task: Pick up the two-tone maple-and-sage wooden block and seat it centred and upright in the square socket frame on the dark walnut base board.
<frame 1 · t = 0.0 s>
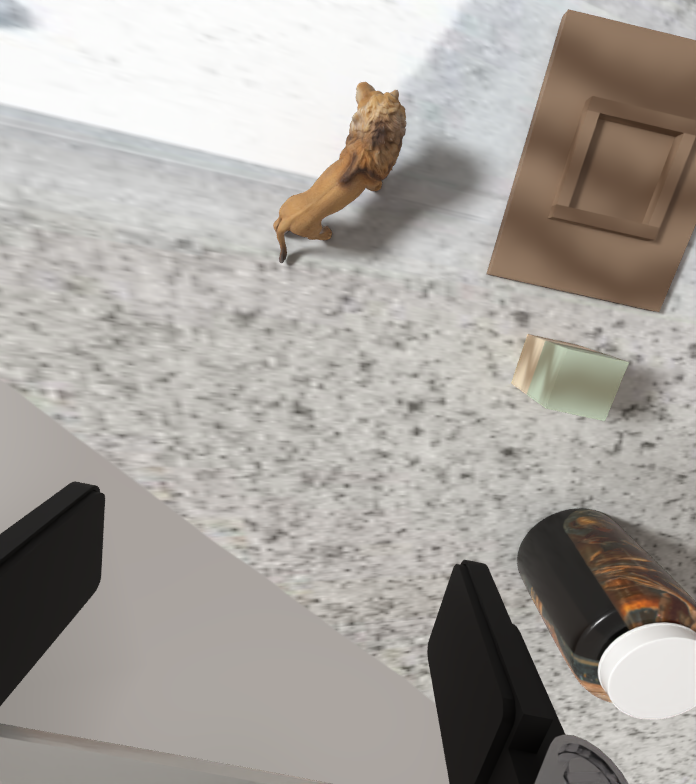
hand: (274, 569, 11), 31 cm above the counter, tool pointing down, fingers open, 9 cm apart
lion figurine: (335, 192, 37), on the counter
jar: (568, 552, 47), on the counter
walnut socket board: (610, 176, 36), on the counter
two-tone block: (543, 364, 41), on the counter
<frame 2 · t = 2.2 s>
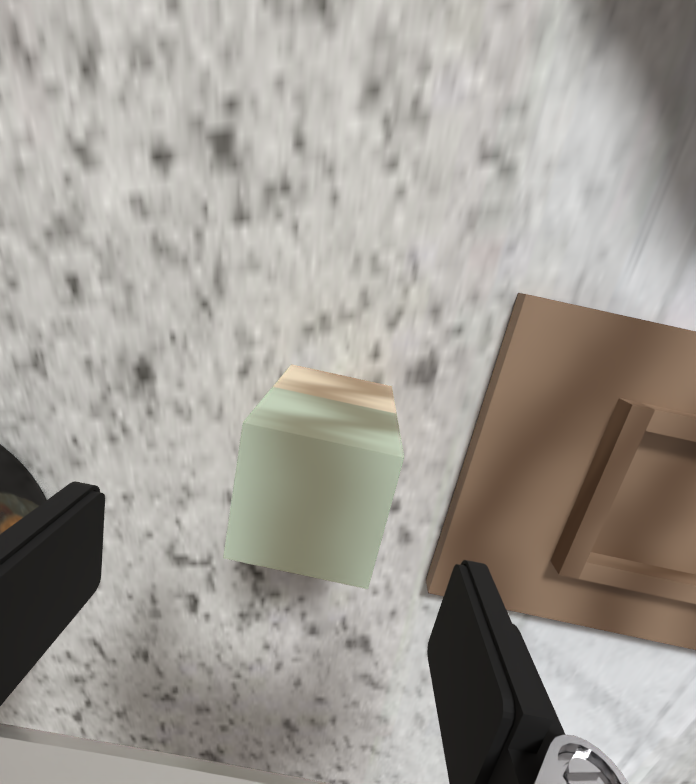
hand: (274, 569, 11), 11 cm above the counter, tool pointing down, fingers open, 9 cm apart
walnut socket board: (659, 493, 21), on the counter
two-tone block: (331, 422, 21), on the counter
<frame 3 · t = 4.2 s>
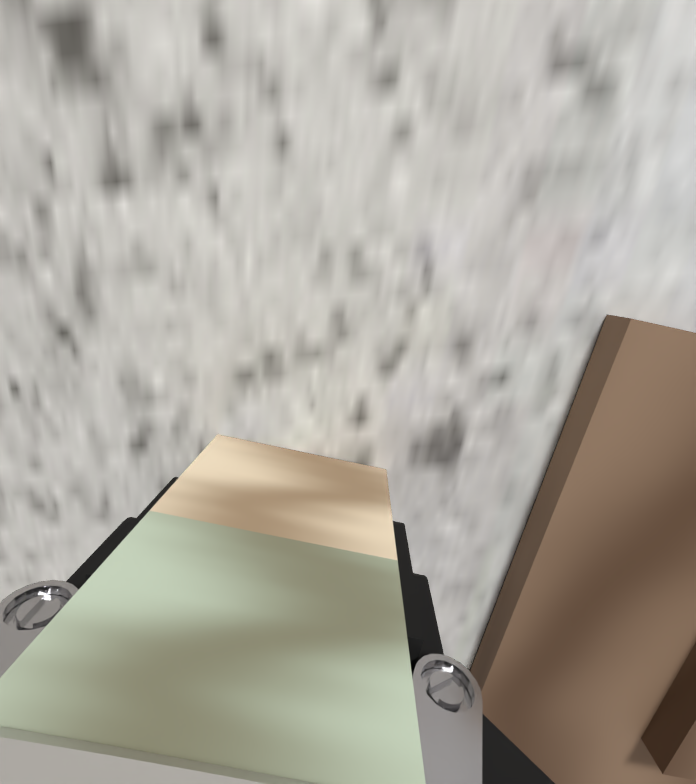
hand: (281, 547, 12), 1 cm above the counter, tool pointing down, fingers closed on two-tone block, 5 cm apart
two-tone block: (287, 525, 13), on the counter, touching gripper
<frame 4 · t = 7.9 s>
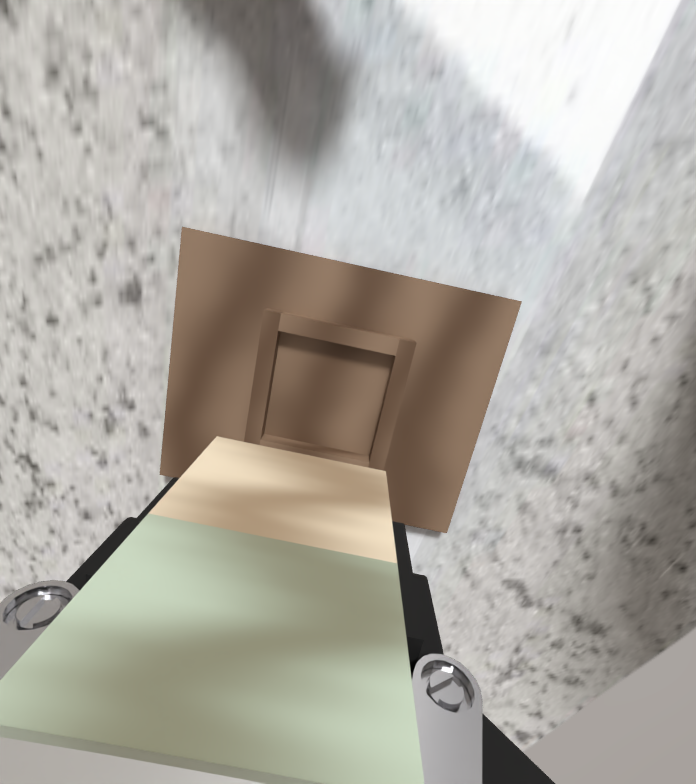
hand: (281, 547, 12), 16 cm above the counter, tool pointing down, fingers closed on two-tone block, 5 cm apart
walnut socket board: (328, 390, 27), on the counter
two-tone block: (287, 527, 13), point 15 cm above the counter, touching gripper
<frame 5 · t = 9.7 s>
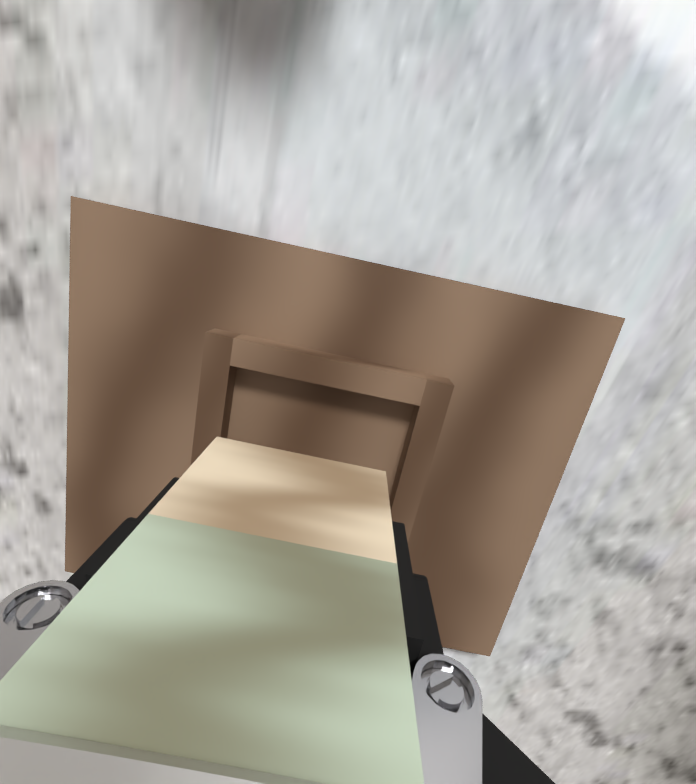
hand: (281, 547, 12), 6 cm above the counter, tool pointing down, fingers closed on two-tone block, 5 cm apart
walnut socket board: (314, 449, 18), on the counter
two-tone block: (287, 527, 13), point 5 cm above the counter, touching gripper
when the fingers open (4 cm above the counter, at t = 11.6 s): two-tone block drops 2 cm, resting on walnut socket board.
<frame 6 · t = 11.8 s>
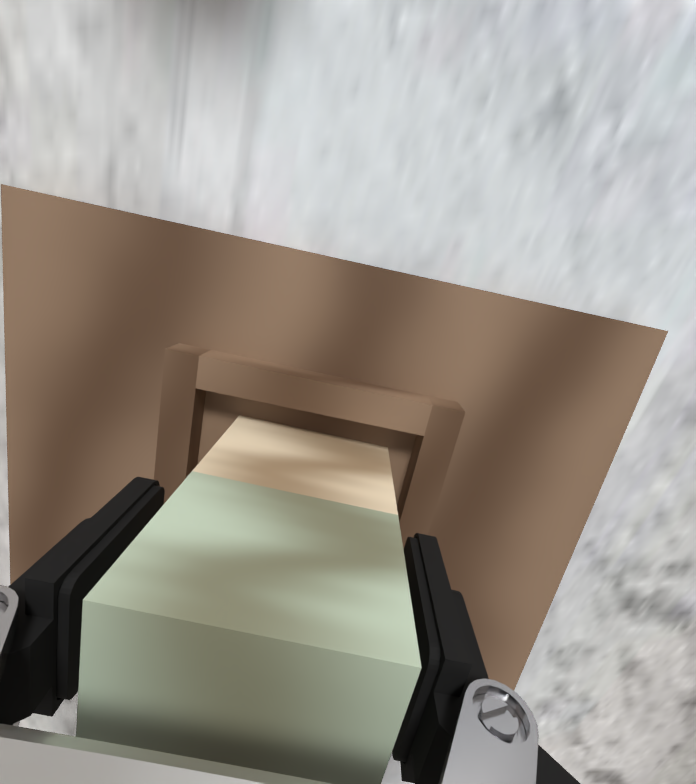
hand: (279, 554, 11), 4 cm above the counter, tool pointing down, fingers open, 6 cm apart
walnut socket board: (299, 482, 15), on the counter
two-tone block: (300, 496, 14), point 1 cm above the counter, touching walnut socket board
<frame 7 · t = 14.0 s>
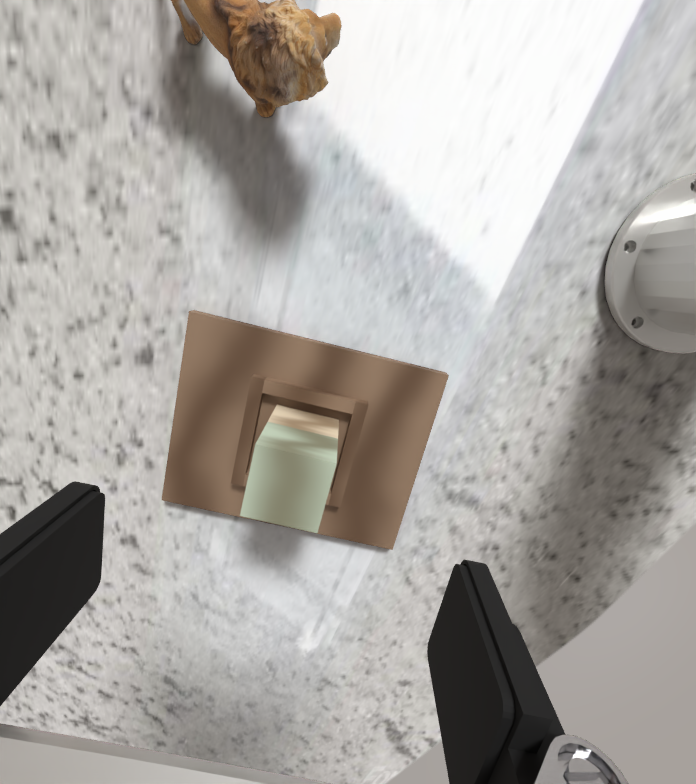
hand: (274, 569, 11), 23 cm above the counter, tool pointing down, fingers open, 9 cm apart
lion figurine: (249, 49, 27), on the counter
walnut socket board: (300, 435, 34), on the counter
two-tone block: (301, 440, 33), point 1 cm above the counter, touching walnut socket board
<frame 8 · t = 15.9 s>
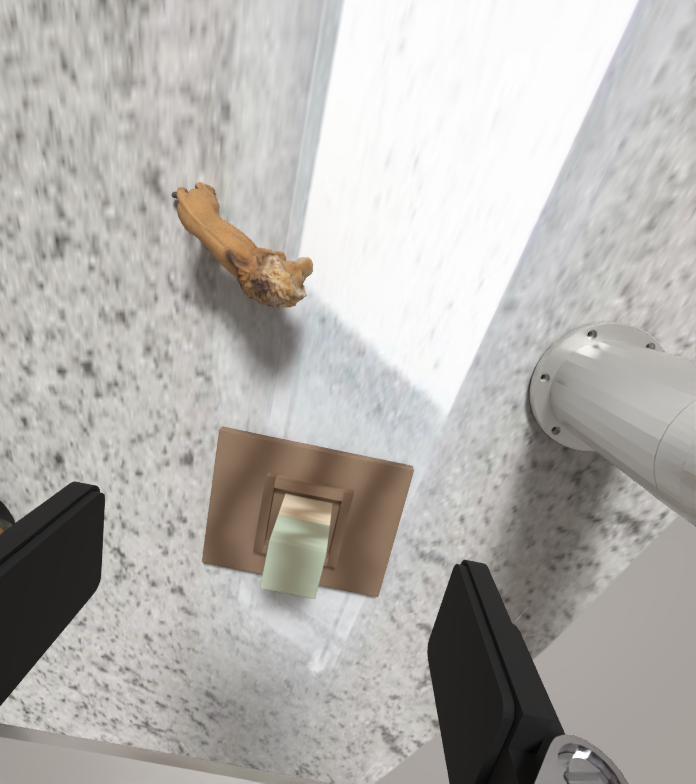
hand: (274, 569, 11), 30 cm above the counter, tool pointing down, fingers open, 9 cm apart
lion figurine: (253, 246, 38), on the counter
walnut socket board: (304, 513, 45), on the counter
two-tone block: (304, 518, 44), point 1 cm above the counter, touching walnut socket board
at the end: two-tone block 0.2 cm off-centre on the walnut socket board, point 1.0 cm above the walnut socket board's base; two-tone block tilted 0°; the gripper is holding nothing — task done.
